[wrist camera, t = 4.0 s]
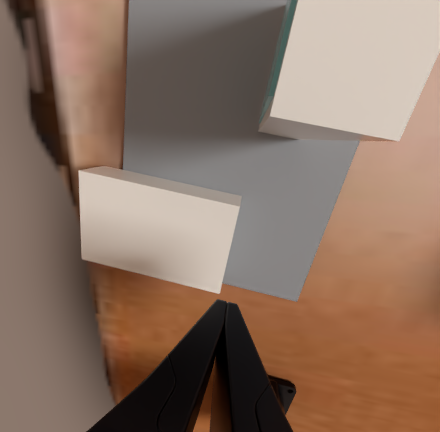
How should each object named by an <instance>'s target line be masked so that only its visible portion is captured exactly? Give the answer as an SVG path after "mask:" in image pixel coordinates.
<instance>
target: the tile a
mask: <svg viewBox="0 0 440 432" xmlns="http://www.w3.org/2000/svg"><path fill="white" fill-rule="evenodd" d="M79 198H80V226H81V254H82V259H83V260H87V261H91V262H95V263H99V264H103V265H107V266H111V267H115V268H119V269H123V270H127V271H131V272H135V273H139V274H143V275H147V276H150V277H154V278H158V279H162V280H166V281H170V282H174V283H178V284H182V285H186V286H190V287H194V288H198V289H202V290H206V291H210V292H214V293H218V294H220V290H221V286H222V281H223V277H224V273H225V269H226V264H227V260H228V256H229V251H230V247H231V243H232V239H233V234H234V230H235V226H236V221H237V217H238V213H239V209H240V204H241V198H242V196H239V195H235V194H230V193H226V192H221V191H217V190H212V189H208V188H203V187H199V186H194V185H190V184H185V183H181V182H176V181H171V180H167V179H162V178H158V177H153V176H149V175H144V174H140V173H135V172H131V171H126V170H122V169H117V168H113V167H108V166H100V167H95V168H89V169H84V170H79Z"/></svg>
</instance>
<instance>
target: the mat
mask: <svg viewBox="0 0 440 432" xmlns="http://www.w3.org/2000/svg"><path fill="white" fill-rule="evenodd" d="M286 2H287V0H129V15H128V43H127V71H126V99H125V127H124V156H123V170H126V171H131V172H135V173H140V174H144V175H149V176H153V177H158V178H162V179H167V180H171V181H176V182H181V183H185V184H190V185H194V186H199V187H203V188H208V189H212V190H217V191H221V192H226V193H230V194H235V195H239V196H242V198H241V204H240V209H239V213H238V217H237V221H236V226H235V230H234V234H233V239H232V243H231V247H230V251H229V256H228V260H227V264H226V269H225V273H224V277H223V281H222V283H224V284H228V285H232V286H236V287H240V288H244V289H248V290H252V291H256V292H260V293H264V294H268V295H272V296H276V297H280V298H284V299H288V300H292V301H296V302H297V300H298V298H299V295H300V293H301V290H302V287H303V285H304V282H305V280H306V277H307V275H308V272H309V270H310V267H311V264H312V262H313V259H314V257H315V254H316V252H317V249H318V247H319V244H320V241H321V239H322V236H323V234H324V231H325V229H326V226H327V224H328V221H329V218H330V216H331V213H332V211H333V208H334V206H335V203H336V200H337V198H338V195H339V193H340V190H341V188H342V185H343V183H344V180H345V177H346V175H347V172H348V170H349V167H350V165H351V162H352V160H353V157H354V154H355V152H356V149H357V147H358V144H359V142H360V141H344V140H298V139H293V138H288V137H283V136H278V135H273V134H268V133H263V132H258V130H259V125H260V123H259V118H260V114H261V110H262V105H263V101H264V97H265V92H266V88H267V84H268V80H269V75H270V71H271V67H272V62H273V58H274V54H275V49H276V45H277V41H278V36H279V32H280V28H281V23H282V19H283V15H284V11H285V6H286Z"/></svg>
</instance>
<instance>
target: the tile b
mask: <svg viewBox="0 0 440 432" xmlns="http://www.w3.org/2000/svg"><path fill="white" fill-rule="evenodd" d="M439 52H440V0H287V2H286V6H285V11H284V15H283V19H282V23H281V28H280V32H279V36H278V41H277V45H276V49H275V54H274V58H273V62H272V67H271V71H270V75H269V80H268V84H267V88H266V92H265V97H264V101H263V105H262V110H261V114H260V118H259V123H260V125H259V130H258V132H263V133H268V134H273V135H278V136H283V137H288V138H293V139H298V140H344V141H400V138H401V136H402V134H403V132H404V130H405V127H406V125H407V123H408V121H409V118H410V116H411V114H412V112H413V110H414V107H415V105H416V103H417V101H418V98H419V96H420V94H421V92H422V90H423V87H424V85H425V83H426V81H427V79H428V76H429V74H430V72H431V70H432V67H433V65H434V63H435V61H436V59H437V56H438V54H439Z"/></svg>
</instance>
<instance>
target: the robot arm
mask: <svg viewBox="0 0 440 432" xmlns="http://www.w3.org/2000/svg"><path fill="white" fill-rule="evenodd" d="M215 357H216V358H215ZM214 361H215V367H214V379H213V393H212V406H211V420H210V432H293V430H292V428H291V426H290V424H289V422H288V420H287V419H286V417H285V415H286V413H287V411H288V409H289V406H290V404H291V402H292V400H293V398H294V396H295V394H296V387H295V385H294V384H293V383H290V382H286V381H282V380H279V379H275V378H271V377H268V376H267V373H266V371H265V369H264V366H263V364H262V361H261V359H260V357H259V354H258V352H257V350H256V347H255V345H254V343H253V340H252V338H251V336H250V333H249V331H248V328H247V326H246V324H245V321H244V319H243V317H242V314H241V312H240V310H239V307H238V305H237V304H235V303H231V302H228V303H227V302H226V301H223V300H219V299H218V300H216V301H215V302H214V303H213V305H212V306H211V307H210V308H209V309H208V310H207V311H206V312H205V314H204V315H203V316H202V317H201V318H200V319H199V320H198V321H197V323H196V324H195V325H194V326H193V327H192V328H191V329H190V330H189V332H188V333H187V334H186V335H185V336H184V337H183V338H182V340H181V341H180V342H179V343H178V344H177V345H176V346H175V347H174V349H173V350H172V351H171V352H170V353H169V354H168V356H166V357H165V359H164V360H163V361H162V362H161V363H160V364H159V365H158V366H157V367H156V368H155V369H154V371H153V372H152V373H151V374H150V375H149V376H148V377H147V378H146V379H145V380H144V381H143V382H142V383H140V384H139V385H138V386H137V387H136V388H135V389H134V390H133V391H132V392H131V393H130V394H129V395H127V396H126V397H125V398H124V399H123V400H122V401H121V402H120V403H118V404H117V405H116V406H115V407H114V408H113V409H112V410H111V411H109V412H108V413H107V414H106V415H105V416H104V417H103V418H102V419H101V420H99V421H98V422H97V423H96V424H95V425H94V426H93V427H91V429H89V430H88V431H87V432H193V429H194V426H195V423H196V420H197V417H198V413H199V410H200V407H201V404H202V400H203V397H204V394H205V391H206V388H207V384H208V381H209V378H210V375H211V372H212V368H213V365H214Z"/></svg>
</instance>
